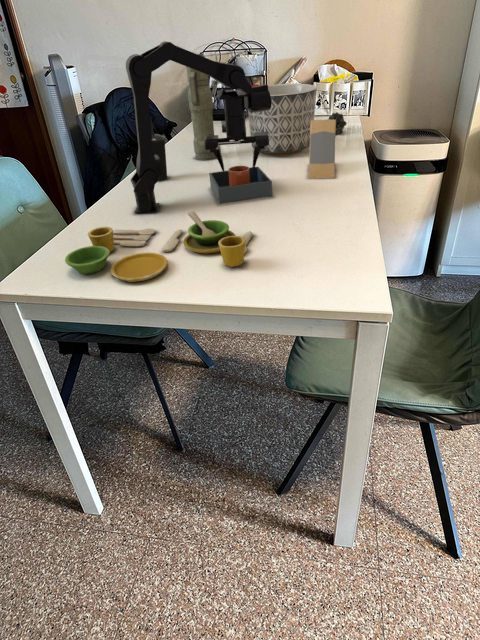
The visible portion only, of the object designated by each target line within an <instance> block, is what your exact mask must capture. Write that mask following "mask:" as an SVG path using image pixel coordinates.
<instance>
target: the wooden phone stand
mask: <svg viewBox="0 0 480 640" xmlns="http://www.w3.org/2000/svg"><path fill="white" fill-rule="evenodd" d="M335 133H336V120H328V119H314V120H311V124H310V146H309V152H308V153H309V154H308V157H309V159H308V173H309V175H308V177H309V179H335V178H336V177H335V174H336V171H335V170H336V169H335V167H336V134H337V133H336V134H335Z"/></svg>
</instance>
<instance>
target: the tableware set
mask: <svg viewBox="0 0 480 640" xmlns="http://www.w3.org/2000/svg"><path fill="white" fill-rule="evenodd" d="M187 215H188V216H189V218H190V219H191V220H192V221H193V222H194V223H193V224H192V225H190V226H189V228H188V229H187V233H188V235H186V236H185V237H184V239H183V245H184V246H185V247H186V248H187V249H189V250H190V251H192V252H194V253H199V254H214V253H218V252H220V254H221V255H220V256H221V258H222V262H223V265H224V266H227V267H230V268H231V267H232V268H233V267H238V266H241V265H242V264H243V263H244V261H245V254H246V252H247V250H248V248H247V245H248V243H249V241H251V240H252V238H253V234H254V233H253V232H252V231H251V230H250V231H247V232H246V233H245V235H244V236H241V235H236V234H235V233H234V232H233V231H232V230H230V226H229V224H228V223H227V222H224V221H222V220H218V219H217V220H215V219H211V220H201V218H200V217H199V215H198V214H197V212H196V211H195V210H192V209H190V210H188V212H187ZM174 232H175V233H174V234H173V235H172V236H171V238H170V239H169V240H168V242H167V243H166V244H165V246H164V247H163V249H162V251H163V253H169V252H172V251H173V250H175V248H176V247H177V245H178V244H179V242H180V239H179V237H180V236H182V234H183V232H184V231H183V230H182V229H177V230H176V231H174ZM155 233H156V230H155V229H154V228H144V229H141V230H139V229H138V230H134V229H113V228H112V227H111V226H98V227H95V228H93V229H91V230H89V231H88V232H87V236H88V238H89V240H90V242H91V244H92V245H89V246H84V247H80V248H77V249H75V250H72V251H71V252H69V253H68V254H67V255H66V256H65V259H64V263H65V264H66V265H67V266H69V267H72V269H74V270H75V271H76V272H77V273H79V274H82V275H91V274H95V273H97V272H99V271H101V270H102V269H104V267H105V265H106V263H107V259H108V258H109V256H110V254H111V252H114V251H115V245H119V246H121V247H144V246H145V245H147V242H148V241H149V239H150V238H151V237H152V235H154V234H155ZM168 262H169V261H168V258H167V257H166V256H165V255H163V254H160V253H156V252H139V253H134V254H129V255H126V256H124V257H121V258H120V259H118V260H117V261H115V262H113V265H112V266H111V268H110V273H111V275H112V276H113V277H115V278H117V279H118V280H120V281H123V282H129V283H131V282H132V283H135V282H144V281H147V280H151V279H153V278H155V277H157V276H159V275H160V274H162V272H163V271H165V269H166V268H167V266H168Z"/></svg>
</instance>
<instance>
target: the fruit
mask: <svg viewBox="0 0 480 640" xmlns="http://www.w3.org/2000/svg"><path fill="white" fill-rule="evenodd" d="M327 120H336V133H335V135H336V134H337V135H339V134H342V133H343V130H344V129H345V127H346V126H347V123H348V122H347V121H345V118H344V115H343V113H339V112H332V113H331V115H329V116H328V119H327Z"/></svg>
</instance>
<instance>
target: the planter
mask: <svg viewBox="0 0 480 640" xmlns="http://www.w3.org/2000/svg"><path fill="white" fill-rule="evenodd" d="M267 85H268V90H269V92H270V96H271V99H272V104H271V109H270V110H268V111H261V112H254V113H250V112H249V110H248V109H247V114H248V123H249V133H250V136H255V132H267V133H268V136H269V145H268V146H265V149H261V151H260V152H262V153H263V154H265V155H268V156H274V157H275V156H279V157H280V156H281V157H282V156H290V155H295V154H298V153H300V152H301V151H302V150H305V149H308V148H310V124H311V120H315V114H316V113H315V112H316V101H317V90H318V89H317V86H316V85H314V84H309V83H278V84H277V83H276V84H267ZM251 147H252V149H254V143H251Z"/></svg>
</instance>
